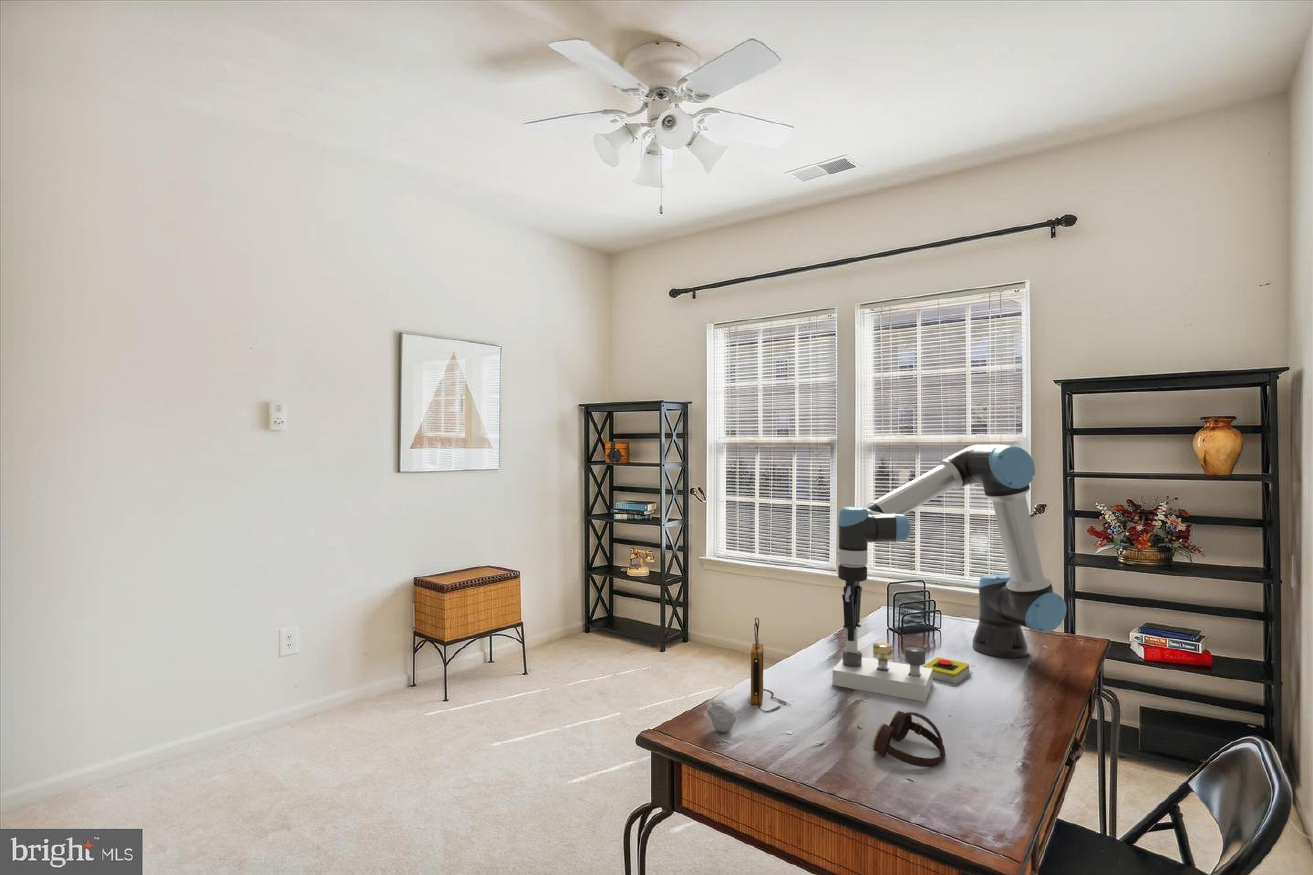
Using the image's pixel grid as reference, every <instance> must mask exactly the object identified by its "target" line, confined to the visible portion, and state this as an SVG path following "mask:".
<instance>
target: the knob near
mask: <svg viewBox="0 0 1313 875" xmlns="http://www.w3.org/2000/svg"><path fill="white" fill-rule="evenodd" d="M904 662H905V663H907V665H910V676H915V677H920V667H921V666H924V665H925V664H926V650H924V649H923V648H921V647H920V648H919V647H916V646H915V647H911V646H910V647H905V648H904Z"/></svg>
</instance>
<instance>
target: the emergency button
mask: <svg viewBox="0 0 1313 875" xmlns="http://www.w3.org/2000/svg"><path fill="white" fill-rule="evenodd" d="M922 667H925V668H932V669H933V682H934V683H938V684H943V685H946V686H951V687H954V686H956V685H958V684H959V683H961V682H962V681H963V680H965V679H966V678H968V677H969V676H970V675H971V674H972V673H973V671H972V670H970V664H969V663H966V662H962V661H957V660H954V659H948V658H944V657H938V656H937V657H935V658H934V659H932V660H931V661H929V662H926V663H925V664H924V665H922Z"/></svg>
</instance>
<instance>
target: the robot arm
mask: <svg viewBox="0 0 1313 875" xmlns="http://www.w3.org/2000/svg"><path fill="white" fill-rule="evenodd" d="M937 465H938V466H936V467H934V468H933V469H931V470H929V471H927V472H925V473H924V474H921V475H920V476H918V477H916V478H914V479H913V480H911V481H909V482H907V483H904V484H903V485H901V486H899V487H898V488H896V489H894V490H892V491H890V492H889V493H887V494H885V495H883V496H882V497H880V498H878V499H876V500H874V501H873V502H870V503H867V504H866V505H865V506H862V507H859V506H843V507H842V508H840V510H839V511H838V512H839V514H838V522H837V525H838V550H837V551H836V554H837V555H838V563H839V565H838V567H837V569H838V570H837V573H838V575H837V577H838V579H840V580H842V581H845V585H844V586H843V593H842V596H841V598H842V606H843V607H842V608H843V626H842V628H843V629H845V631H846V634H845V643H846V644H845V650H846V652H851V653H857V651H859V650H858V640H859V639H858V632H859V629H858V628H861V626H862V624H859V623H860V621H861V620H860V617H861V602H862V591H863V587H862V586H861V584H860V582H866V581H867V580H868V567H867V565H868V545H869V544H868V543H897V542H898V543H899V542H905V541H907V540H908V538H909V537H910V535H911V524H910V523H911V522H910V520H909V518H908V517H907V516H906V514H908V513H909V512H912V511H913V510H915V509H917V508H918V507H921V506H922V505H924V504H926V503H928V502H929V501H932V500H933V499H935V498H937V497H938V496H941V495H943V494H944V493H947V492H948V491H950V490H952V489H953V490H959V489H961V488H963V487H965V486H968V485H974V484H980V485H982V487H983V492H984V495H985V497H987V498H988V499H990V500H991V501H992V505H993V508H994V512H995V513H994V514H995V518H996V520H997V521H996V522H997V526H998V532H999V536H1000V539H1001V545H1002V548H1003V554H1004V556H1005V562H1006V567H1007V571H1008V574H984V575H982V576H980V578H979V584H978V625H977V627H976V629H975V632H974V636H973V638H972V648H973V649H974V650H976V651H977V652H978V653H981V654H985V655H988V656H991V657H992V656H993V657H1000V658H1007V659H1009V658H1010V659H1011V658H1012V659H1015V658H1016V659H1017V658H1024V657H1027V655H1028V654H1029V647H1028V643H1027V640H1026V637H1025V635H1024V632H1023V628H1022V626H1023V627H1025V628H1028V629H1029V630H1031V631H1034V632H1035V631H1037V632H1039V633H1051V632H1052V631H1055V630H1056V629H1058V628H1059V627H1061V625H1062V622H1063V621H1064V620H1065V618H1066V614H1067V605H1066V604H1067V603H1066V601H1065V599H1064V598H1063V597H1062V596H1060V595H1059V593H1056V592H1054V589H1053V584H1052V581H1051V579H1050V578H1049V577H1047V576H1045V575H1044V571H1043V568H1042V563H1041V558H1040V554H1039V549H1038V545H1037V540H1036V536H1035V533H1034V532H1035V531H1034V528H1033V523H1032V518H1031V514H1030V510H1029V506H1028V500H1027V494H1028V492H1029V491H1030V489H1031V486H1030V484H1031V483H1032V481H1033V479H1034V478H1033V476H1035V472H1036V466H1035V462H1034V460H1033V458H1032V456H1031V454H1030V453H1029V452H1028V451H1026V450H1025V449H1023V448H1022V447H1020V446H1016V445H1010V444H974V445H971V446H970V445H969V446H968V447H965V448H964V449H961V450H959V451H957V452H955V453H953V454H951V455H949V456H947V457H946V458H944V459H942V460H940V461H939V462H938V464H937Z"/></svg>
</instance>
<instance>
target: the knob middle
mask: <svg viewBox="0 0 1313 875" xmlns="http://www.w3.org/2000/svg"><path fill="white" fill-rule="evenodd" d="M893 656H894V646H893V644H890V643H887V642H874V643H873V644H872V657H873V659H874V658H875V660H878V670H879V671H885V672H888V662H889V661H890V660H893V659H894V657H893Z"/></svg>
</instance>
